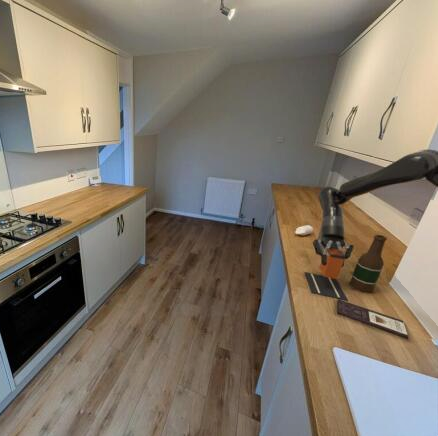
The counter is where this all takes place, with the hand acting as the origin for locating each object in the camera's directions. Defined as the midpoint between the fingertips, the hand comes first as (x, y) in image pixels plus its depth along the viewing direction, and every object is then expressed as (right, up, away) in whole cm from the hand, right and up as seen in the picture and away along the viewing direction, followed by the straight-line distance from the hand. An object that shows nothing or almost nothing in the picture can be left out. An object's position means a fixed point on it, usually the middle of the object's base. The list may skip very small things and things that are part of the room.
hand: (332, 266), depth 96 cm
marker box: (+1, -4, +3) cm, 5 cm away
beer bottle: (+15, -10, +4) cm, 19 cm away
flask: (+23, +1, +36) cm, 42 cm away
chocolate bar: (+4, -16, -12) cm, 21 cm away
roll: (+23, +14, +53) cm, 59 cm away
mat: (+1, -9, +5) cm, 11 cm away
